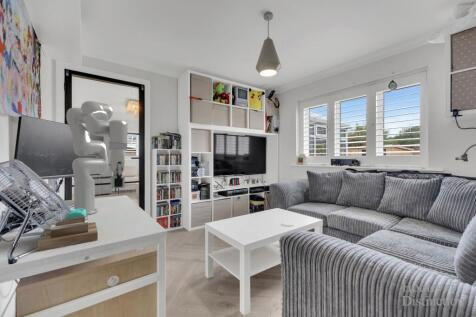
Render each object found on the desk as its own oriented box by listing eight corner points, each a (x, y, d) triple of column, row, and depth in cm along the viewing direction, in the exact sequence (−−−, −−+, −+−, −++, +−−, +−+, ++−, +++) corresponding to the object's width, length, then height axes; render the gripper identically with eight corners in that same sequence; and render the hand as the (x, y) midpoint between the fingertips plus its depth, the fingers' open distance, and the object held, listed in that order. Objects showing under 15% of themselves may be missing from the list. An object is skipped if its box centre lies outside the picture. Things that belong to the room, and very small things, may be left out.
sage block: (110, 187, 99) (110, 176, 99) (122, 186, 102) (122, 176, 102) (112, 188, 95) (112, 177, 95) (124, 187, 98) (124, 176, 98)
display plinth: (44, 236, 85) (44, 219, 85) (95, 228, 95) (95, 213, 95) (38, 251, 72) (38, 231, 72) (97, 240, 83) (97, 222, 83)
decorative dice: (62, 227, 96) (62, 210, 96) (84, 224, 101) (84, 207, 101) (63, 232, 90) (63, 214, 90) (86, 228, 95) (86, 211, 95)
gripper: (106, 147, 103) (106, 184, 103) (110, 146, 90) (110, 189, 90) (124, 147, 108) (123, 183, 108) (130, 147, 94) (129, 188, 94)
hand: (117, 185), depth 99 cm, fingers closed on sage block, 5 cm apart
